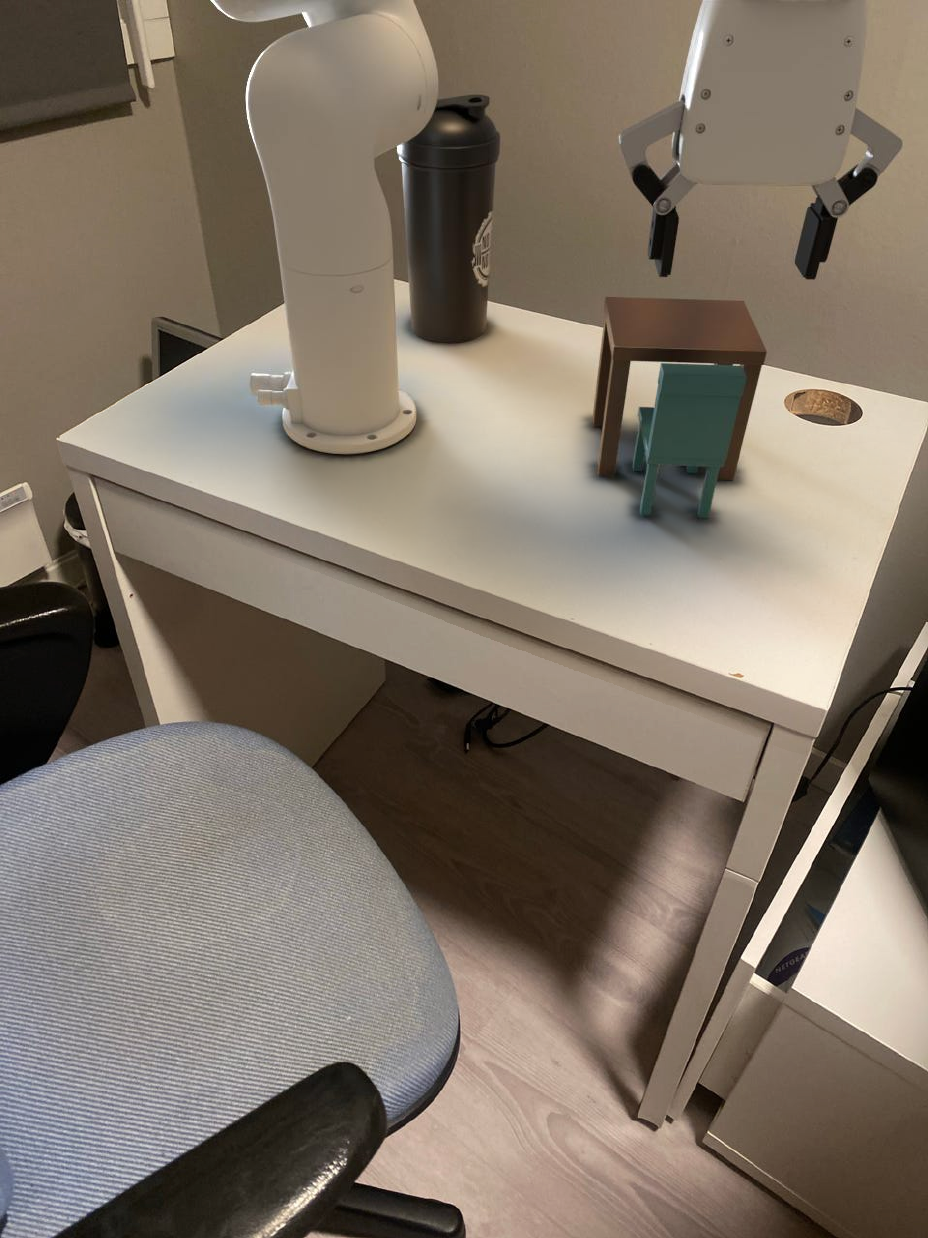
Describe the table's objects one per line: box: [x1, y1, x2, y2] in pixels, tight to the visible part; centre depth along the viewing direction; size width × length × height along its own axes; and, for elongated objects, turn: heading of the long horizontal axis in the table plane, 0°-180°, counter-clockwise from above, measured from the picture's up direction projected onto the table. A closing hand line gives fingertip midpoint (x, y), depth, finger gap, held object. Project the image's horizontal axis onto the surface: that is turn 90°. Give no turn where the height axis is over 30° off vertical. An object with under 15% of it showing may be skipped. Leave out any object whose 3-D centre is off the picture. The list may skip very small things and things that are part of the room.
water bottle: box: [396, 94, 501, 344], centre depth 94 cm, size 10×10×23 cm
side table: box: [592, 296, 768, 481], centre depth 78 cm, size 12×10×12 cm
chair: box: [631, 362, 747, 519], centre depth 73 cm, size 8×6×13 cm
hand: (732, 270), depth 61 cm, fingers open, 9 cm apart
